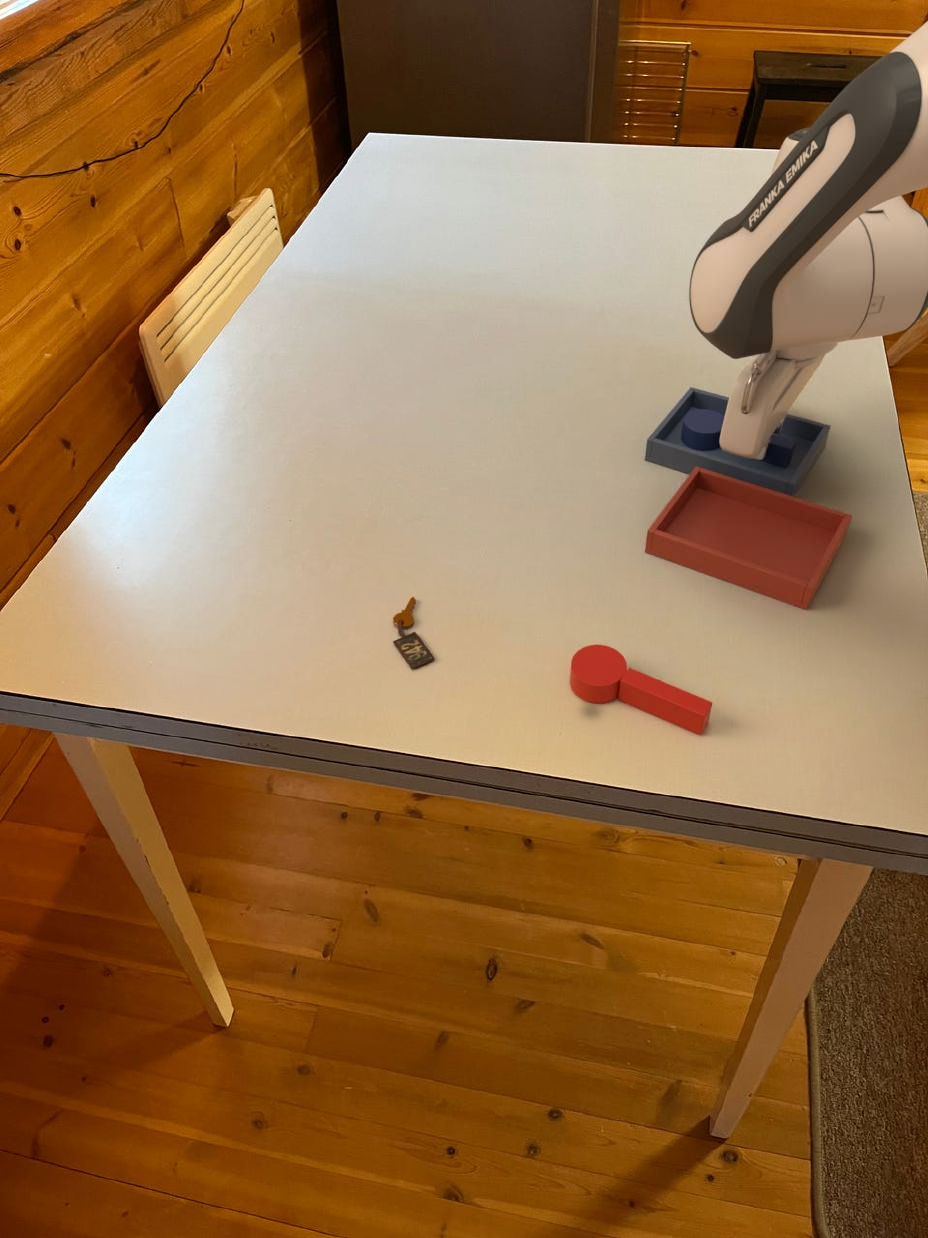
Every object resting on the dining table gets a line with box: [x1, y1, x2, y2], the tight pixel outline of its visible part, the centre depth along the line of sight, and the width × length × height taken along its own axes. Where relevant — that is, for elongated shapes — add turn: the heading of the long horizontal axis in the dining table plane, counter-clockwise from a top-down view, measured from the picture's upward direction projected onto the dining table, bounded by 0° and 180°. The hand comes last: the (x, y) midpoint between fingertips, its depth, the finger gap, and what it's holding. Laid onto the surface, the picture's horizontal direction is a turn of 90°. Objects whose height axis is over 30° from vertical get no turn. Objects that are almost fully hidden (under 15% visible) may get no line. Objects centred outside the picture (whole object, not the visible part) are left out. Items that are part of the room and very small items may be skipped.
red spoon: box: [569, 644, 713, 736], centre depth 73 cm, size 11×4×2 cm, turn 57°
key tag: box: [392, 596, 435, 670], centre depth 80 cm, size 8×3×1 cm, turn 15°
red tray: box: [644, 466, 853, 610], centre depth 85 cm, size 15×11×3 cm
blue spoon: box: [681, 409, 796, 468], centre depth 95 cm, size 11×4×2 cm, turn 57°
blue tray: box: [644, 386, 832, 497], centre depth 95 cm, size 15×11×3 cm
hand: (763, 445), depth 94 cm, fingers closed
